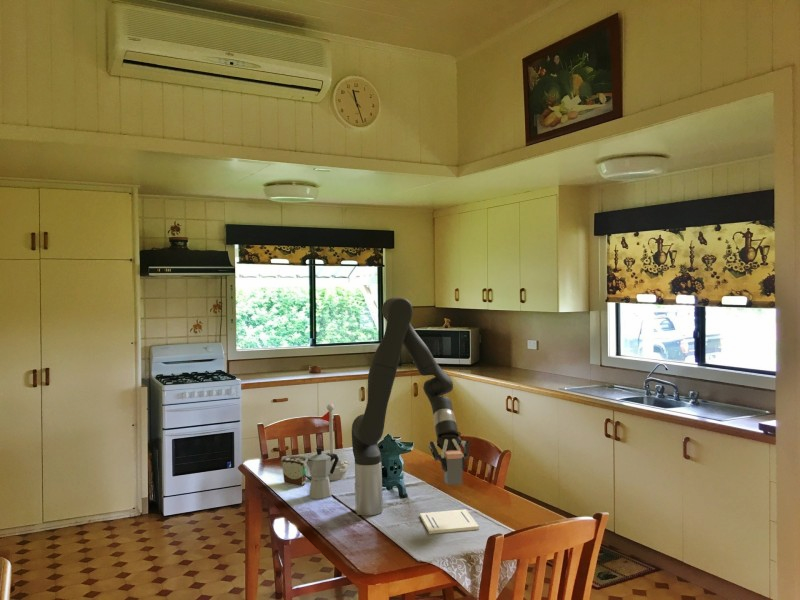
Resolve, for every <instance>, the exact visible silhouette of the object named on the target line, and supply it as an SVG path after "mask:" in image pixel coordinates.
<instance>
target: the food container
mask: <svg viewBox="0 0 800 600" xmlns="http://www.w3.org/2000/svg"><path fill="white" fill-rule="evenodd" d="M307 460H308V458H306V457H305V456H300V455H291V456H285V457H284V456H283V457H281V460H280V464H281V466H282V475H283V484H286V485H292V486H298V487H304V486H305V485H306V478H307V477H306V475H307V467H308V465H307V463H305V462H306V461H307Z"/></svg>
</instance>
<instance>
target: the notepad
mask: <svg viewBox="0 0 800 600" xmlns="http://www.w3.org/2000/svg"><path fill="white" fill-rule="evenodd" d="M419 517H420V519H421V520H422V523H423V525H424V526H425V528H426V530H427V532H428V534H430V535H432V534H442V533H443V534H444V533H452V532H453V533H454V532H455V533H456V532H463V531H464V532H465V531H475V530H477V531H478V530H480V525H479V524H478V523H477V521H476V520H475V519H474V518H473V517H472V515H471V514H470V512H469V511H468V510H467V509H466V508H464V509H453V510H443V511H442V510H441V511H432V512H431V511H430V512H422V513H419Z"/></svg>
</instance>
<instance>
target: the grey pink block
mask: <svg viewBox="0 0 800 600" xmlns="http://www.w3.org/2000/svg"><path fill="white" fill-rule="evenodd" d="M444 453H445V459H446V464H447V471H446V472H444V471H443V481H444V483H445V484H446V485H447V486H454V485H463V471H462V453H463V452H462V453H461V452H460V451H457V450H446V451H444Z"/></svg>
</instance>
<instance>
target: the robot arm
mask: <svg viewBox="0 0 800 600" xmlns="http://www.w3.org/2000/svg"><path fill="white" fill-rule="evenodd" d="M381 306H382V307H381V314H382V316H383V318H384V320H385V321H386V326H385V330H384V335H383V337H382V339H381V341H380V343H379V344H378V347H377V348H376V350H375V351H374V354H373V357H372V359H371V363H370V367H369V370H368V374H367V375H368V376H367V402H366V406H365V410H364V413H363V414H360V415H358V416H356V417H355V418H354V420H353V422H352V424H351V443H352V444H351V447H352V454H353V457H354V477H355V478H354V479H355V480H354V499H355V500H354V501H355V504H354V505H355V506H354V507H355V512H356V514H357V516H358V515H359V516H360V515H361V516H374V515H375V516H376V515H378V514H381V513H383V511H384V507H383V505H384V504H383V502H384V500H383V474H382V473H383V471H382V467H383V466H382V453H381V451H380V448H379V441H380V440H381V438H382V436H383V434H384V430H385V423H386V415H387V410H388V405H389V401H390V398H391V397H390V396H391V393H392V390H393V385H394V383H395V378H396V374H397V371H398V366H399V363H400V359H401V358H400V357H401V353H402V350H403V345H404V347H405V349H406V350H407V353H408V355H409V356H410V357H411V359H412V362H413V364H414V365H415V367H416V369H417V371H418V373H419V374H420V375H421V376H424V377H425V376H434V377H432V378H429V379H426V381H424V383H423V386H422V388H423V392H424V394H425V395H426V397H427V399H428V400H429V403H430V406H431V410H432V416H433V425H434V430H435V435H436V441H431V440H430V442H429V445H428V448H429V450H430V453H431V454H432V457H433V458H434V460H435V461H438V462H440V466H441V470H442V471H443V473H444V472H446V471H447V464H446V459H445V453H444V451H446V450H457V451H460V452H461V453H462V472H463V471H464V470H465V469H466V461H465V460H467V459H468V457H469V456H470V455H469V454H470V440H469V439H466V440H462V439H461V437H460V433H459V429H458V424H457V420H456V416H455V413H454V409H453V404H452V401H451V399H450V397H447V396H444V395H446V394H449V393H451V392H452V391H453V389H454V382H453V380H452V379H451V377H450V376H449V374H448V373H447V372H446V371H444V370H443V368H442V367H440V365H439V363H437V361H436V359H435V358H434V355H433V354H432V352H431V351H430V349H429V347H428V346H427V344H426V343H425V342H424V340H423V339H422V338H421V337H420V336H419V334H418V333H417V332H416V330H415V328H414V327H413V326H412V323H411V320H412V317H413V314H414V313H413V311H414V310H413V309H414V308H413V305H412V303H411V302H410V301H409V300H408V299H406V298H404V297H390V298H388V299H386V300H385V301H384V302H383V304H382V305H381ZM461 445H462V447H463V450H464V452H463V451H462V448H461V447H460V446H461ZM437 447H438V448H439V449H440V450H441V452H440V453H441V454H439V451H438V450H437Z"/></svg>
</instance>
